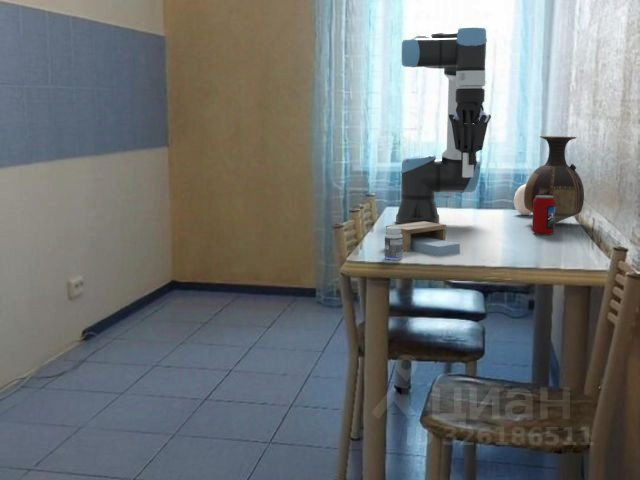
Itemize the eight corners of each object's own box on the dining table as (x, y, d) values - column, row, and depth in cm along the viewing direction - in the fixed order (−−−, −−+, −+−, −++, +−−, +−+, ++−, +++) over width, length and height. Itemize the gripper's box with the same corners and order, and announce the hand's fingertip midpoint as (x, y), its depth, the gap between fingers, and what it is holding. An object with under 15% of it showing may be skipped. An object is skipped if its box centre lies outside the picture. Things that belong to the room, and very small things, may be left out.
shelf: (385, 247, 218) (386, 226, 217) (423, 241, 227) (423, 221, 226) (407, 251, 211) (407, 229, 210) (445, 245, 220) (445, 224, 219)
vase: (546, 230, 245) (550, 137, 240) (507, 223, 263) (510, 135, 258) (599, 225, 255) (604, 135, 250) (559, 218, 272) (562, 134, 267)
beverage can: (555, 235, 236) (556, 197, 234) (532, 235, 237) (534, 197, 235) (553, 232, 242) (554, 194, 240) (531, 231, 244) (532, 194, 242)
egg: (535, 217, 277) (536, 185, 275) (511, 215, 281) (512, 184, 279) (539, 214, 285) (540, 183, 283) (515, 212, 288) (516, 182, 286)
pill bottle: (383, 257, 204) (383, 226, 202) (400, 256, 204) (400, 225, 203) (386, 260, 199) (386, 228, 198) (403, 260, 200) (404, 228, 198)
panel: (402, 249, 217) (402, 239, 217) (423, 246, 221) (423, 236, 221) (438, 257, 205) (438, 246, 204) (459, 254, 209) (459, 243, 209)
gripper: (442, 88, 203) (440, 176, 207) (479, 87, 193) (476, 179, 197) (461, 88, 207) (459, 174, 212) (499, 87, 197) (496, 177, 201)
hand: (467, 176), depth 204 cm, fingers closed
